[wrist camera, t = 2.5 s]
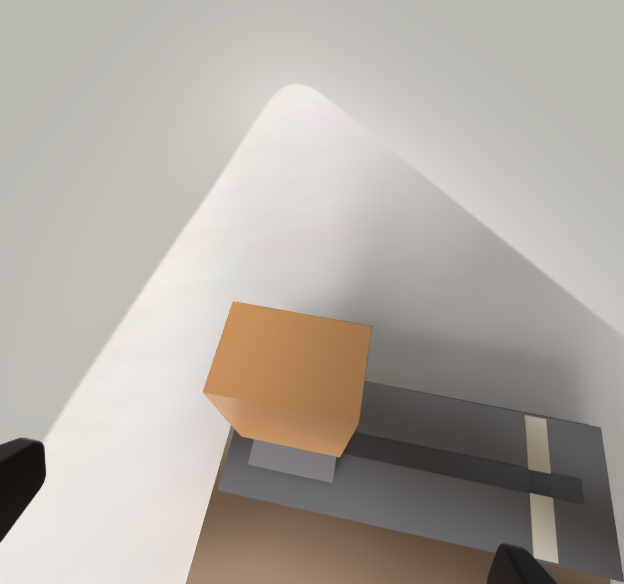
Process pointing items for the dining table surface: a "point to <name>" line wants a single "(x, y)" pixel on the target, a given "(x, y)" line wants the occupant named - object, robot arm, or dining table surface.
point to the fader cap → (290, 386)
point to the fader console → (417, 501)
